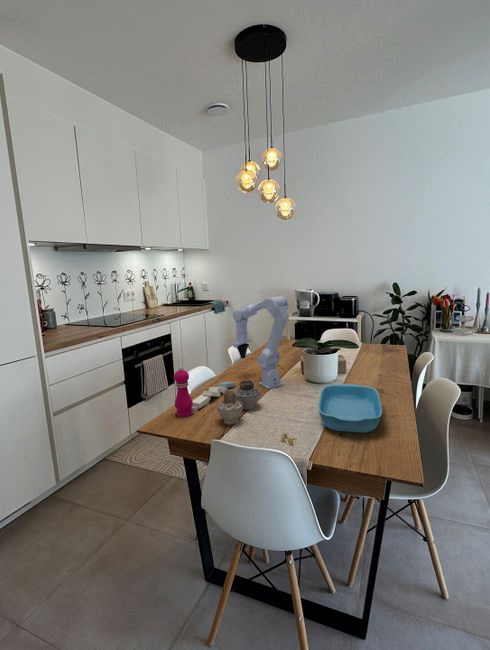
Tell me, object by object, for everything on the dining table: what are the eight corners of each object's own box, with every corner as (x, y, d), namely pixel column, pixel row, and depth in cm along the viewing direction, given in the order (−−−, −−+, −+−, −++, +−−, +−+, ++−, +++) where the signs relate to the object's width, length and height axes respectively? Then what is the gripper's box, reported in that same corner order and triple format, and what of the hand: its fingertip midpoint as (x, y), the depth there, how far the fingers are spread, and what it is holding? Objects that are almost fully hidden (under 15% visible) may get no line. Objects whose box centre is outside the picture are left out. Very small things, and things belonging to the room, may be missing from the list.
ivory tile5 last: (200, 398, 155) (186, 406, 148) (208, 400, 153) (195, 408, 146) (200, 402, 156) (187, 410, 148) (209, 404, 153) (195, 412, 146)
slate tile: (227, 381, 174) (217, 383, 166) (235, 382, 172) (225, 384, 164) (227, 385, 174) (217, 386, 166) (235, 386, 172) (225, 388, 164)
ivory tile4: (201, 394, 155) (190, 402, 147) (210, 395, 153) (199, 403, 145) (201, 398, 156) (190, 406, 147) (210, 399, 154) (200, 407, 146)
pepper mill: (197, 413, 143) (193, 366, 140) (182, 419, 138) (178, 370, 134) (186, 408, 148) (182, 363, 145) (171, 414, 143) (167, 367, 139)
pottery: (211, 424, 133) (209, 394, 131) (241, 400, 155) (240, 374, 153) (238, 429, 128) (236, 398, 126) (265, 403, 150) (264, 376, 148)
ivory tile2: (219, 387, 168) (209, 387, 160) (227, 388, 166) (217, 388, 158) (218, 390, 167) (208, 391, 159) (227, 391, 165) (217, 392, 157)
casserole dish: (322, 396, 155) (322, 380, 154) (376, 399, 149) (376, 383, 148) (315, 436, 121) (315, 417, 119) (385, 443, 114) (385, 422, 113)
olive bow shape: (292, 447, 115) (292, 442, 115) (278, 444, 117) (277, 438, 117) (298, 440, 119) (298, 435, 119) (284, 437, 122) (284, 432, 121)
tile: (211, 391, 162) (202, 390, 154) (220, 392, 160) (212, 391, 152) (211, 395, 162) (202, 394, 153) (220, 396, 160) (211, 395, 152)
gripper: (242, 329, 189) (243, 353, 192) (227, 334, 177) (229, 360, 179) (253, 330, 186) (254, 355, 188) (239, 335, 173) (240, 362, 176)
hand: (243, 357), depth 183 cm, fingers closed
